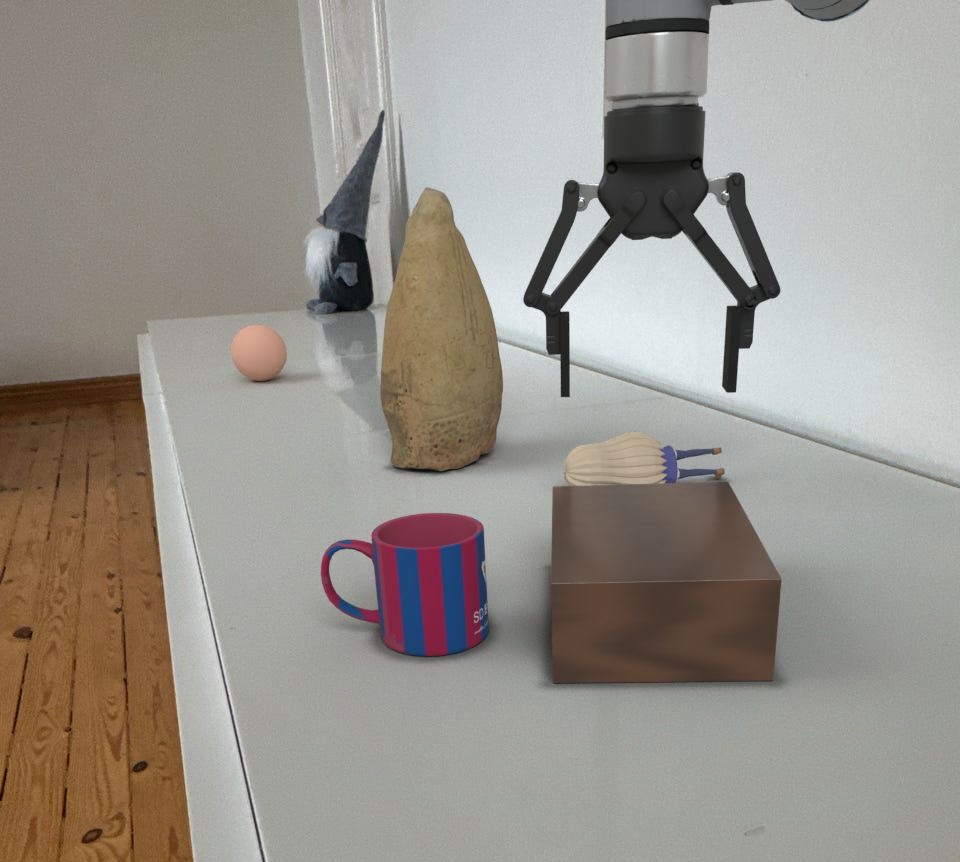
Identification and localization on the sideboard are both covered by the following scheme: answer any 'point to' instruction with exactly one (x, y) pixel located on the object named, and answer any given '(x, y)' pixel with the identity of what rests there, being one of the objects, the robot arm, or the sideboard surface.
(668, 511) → the walnut block
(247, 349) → the toy ball
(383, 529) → the mug
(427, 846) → the sideboard surface
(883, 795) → the sideboard surface
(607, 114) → the robot arm
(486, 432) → the sculpture
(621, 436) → the figurine
